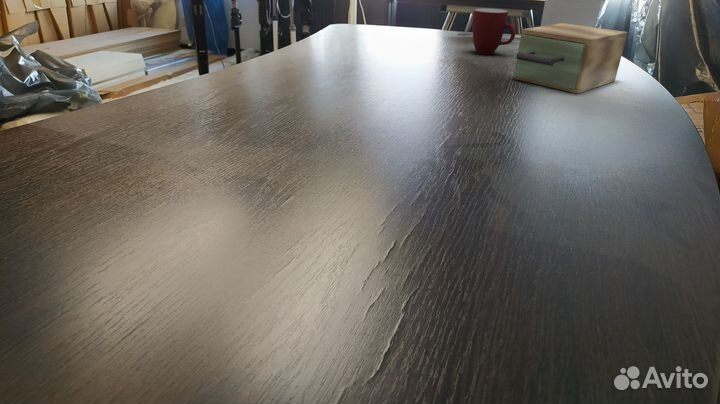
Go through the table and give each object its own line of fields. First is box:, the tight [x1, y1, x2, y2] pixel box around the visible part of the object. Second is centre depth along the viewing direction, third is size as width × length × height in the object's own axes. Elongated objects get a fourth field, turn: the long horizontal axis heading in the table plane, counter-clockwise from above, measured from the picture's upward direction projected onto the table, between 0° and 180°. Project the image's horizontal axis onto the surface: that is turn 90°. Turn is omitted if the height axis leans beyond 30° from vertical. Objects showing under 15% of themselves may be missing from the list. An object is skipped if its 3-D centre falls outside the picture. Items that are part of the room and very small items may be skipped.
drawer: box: [513, 34, 586, 89], centre depth 96 cm, size 19×12×8 cm, turn 132°
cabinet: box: [513, 23, 629, 94], centre depth 99 cm, size 16×14×10 cm
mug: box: [471, 8, 516, 56], centre depth 121 cm, size 10×8×10 cm
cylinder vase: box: [540, 0, 603, 28], centre depth 119 cm, size 12×12×25 cm
